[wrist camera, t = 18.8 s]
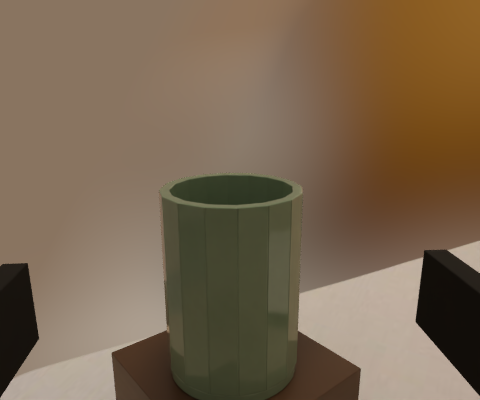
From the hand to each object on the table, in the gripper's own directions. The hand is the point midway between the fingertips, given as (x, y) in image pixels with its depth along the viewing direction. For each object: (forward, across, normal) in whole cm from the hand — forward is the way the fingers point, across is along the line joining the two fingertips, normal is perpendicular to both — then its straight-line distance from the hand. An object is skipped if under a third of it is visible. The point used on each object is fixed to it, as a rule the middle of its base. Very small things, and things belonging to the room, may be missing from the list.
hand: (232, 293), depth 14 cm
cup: (+8, 0, -8) cm, 11 cm away
